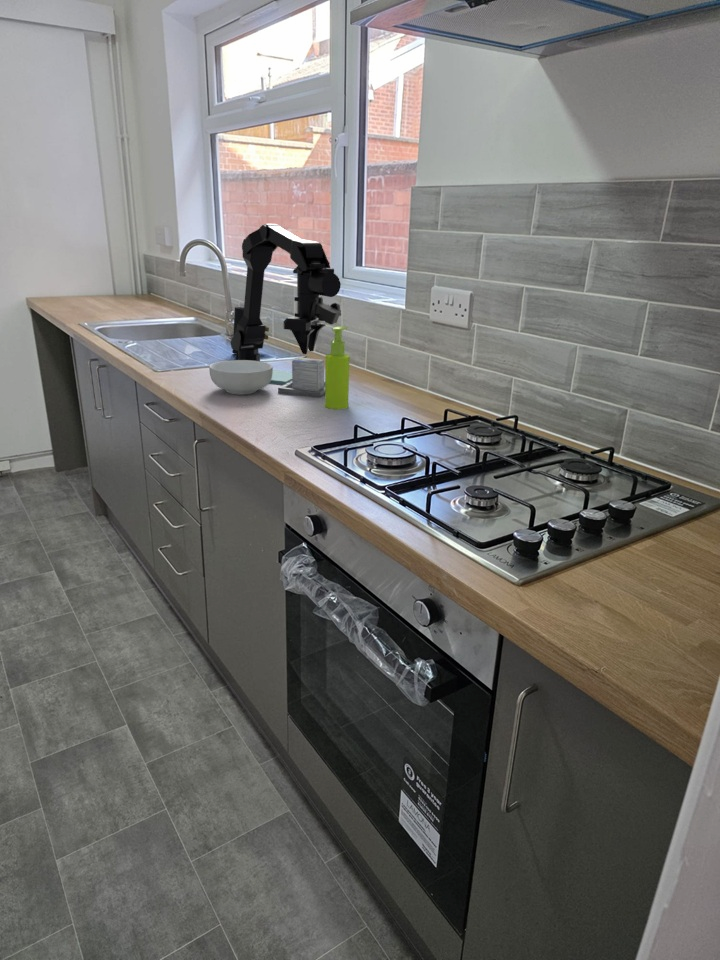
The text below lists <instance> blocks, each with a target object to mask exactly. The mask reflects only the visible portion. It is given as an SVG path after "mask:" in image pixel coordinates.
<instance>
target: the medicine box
mask: <svg viewBox="0 0 720 960" xmlns="http://www.w3.org/2000/svg"><path fill="white" fill-rule="evenodd" d="M291 369H292V370H291V372H292V388H293V389H302V390H310V391H319V390H321V389H323V388H324V382H325V360H324V359H318V358H307V357H296V358H294V359H292V360H291Z"/></svg>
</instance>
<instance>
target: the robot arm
mask: <svg viewBox="0 0 720 960" xmlns="http://www.w3.org/2000/svg"><path fill="white" fill-rule="evenodd" d="M277 248H280V249H281V250H283V251H285V252H286V253H287V254H289V257H290V260H291V261H292V262H294V263H295V265H297V266H296V267H295V268H294V269H292V272H293V274H296V278H297V279H296V281H297V282H296V284H297V286H296V290H297V291H296V294H297V295H296V296H294V297H293V298H294V302H297V309H296V310H297V311H296V312H295V313H294V316H290V317H289V316H288V317H286V318H285V319H284V320H283V330H288V331H290V332H291V333H292V335H293V337H294V338H295V340H296V342H297V344H298V346H299V348H300V351H301V354H303V355H307V354H308V351H309V352H314V350H315V347H316V343H317V340H318V336H319V333H320V331H321V330H323V328H324V327H326V324H329V325H334V324H337V323H338V319H339V318H340V317H341V316H342V313H341V312H342V310H341V307H340V303H337V302H333V303H331V304H326V303H324V300H323V299H324V298H323V297H328V298H333V297H335V296H337V295H338V294H339V292H340V289H341V285H342V284H341V281H340V278H339V277H338V275H337V274H336V273H335V268H332V267H331V264H330V262H329V259H328V258H327V254H326V253H325V249H324V248H323V245H322V244H321V242H319V241H316V240H309V239H304V238H303V239H302V238H300V237H299V236H296V234H295V235H294V234H293V233H292V232H290V231H288V230H286V229H284V228H283V227H281V225H279V224H277V223H264V224H262V225H261V226H260V227H259V228H258V229H256V230H254V231H253V232H251V233H249V234H248V235H247V236H246V237H245V238H244V239H243V241H242V243H241V250H242V258H243V260H244V263H245V265H246V279H245V280H246V281H245V289H244V290H245V291H244V292H245V293H244V302H243V303H244V305H243V308H244V314H243V316H242V318H241V319H240V320H239V322H238V323H237V328H236V332H235V334H234V336H232V338H231V339H230V342H229V343H230V347H231V348H230V349H232V350H233V349H234V350H236V354H235V358H236V359H235V360H252V361H261V354H260V353H259V349H260V350H261V349H263V348H264V344H265V343H264V342H265V339H264V338H265V334H266V331H265V329H266V327H265V326H266V324H265V325H264V324H263V322H262V320H261V311H262V302H263V301H262V300H263V290H264V289H263V288H264V281H265V270H266V269H267V267H268V266H269V265H270V263H271V262H272V259H273V254H274V251H276V250H277ZM322 322H325V323H326V324H324V323H323V324H322Z"/></svg>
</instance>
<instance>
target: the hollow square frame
mask: <svg viewBox="0 0 720 960" xmlns="http://www.w3.org/2000/svg"><path fill="white" fill-rule="evenodd" d="M277 389H278V391H277V393H278V394H284V395H292V396H300V397H301V396H303V397H311V398H322V397H323V396H324V397H325V381H324V388H323V389H321V390H319V391H310V390H302V389H293V388H292V381H290V382H289V383H287V384H285V385H280V386H278V388H277Z"/></svg>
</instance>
